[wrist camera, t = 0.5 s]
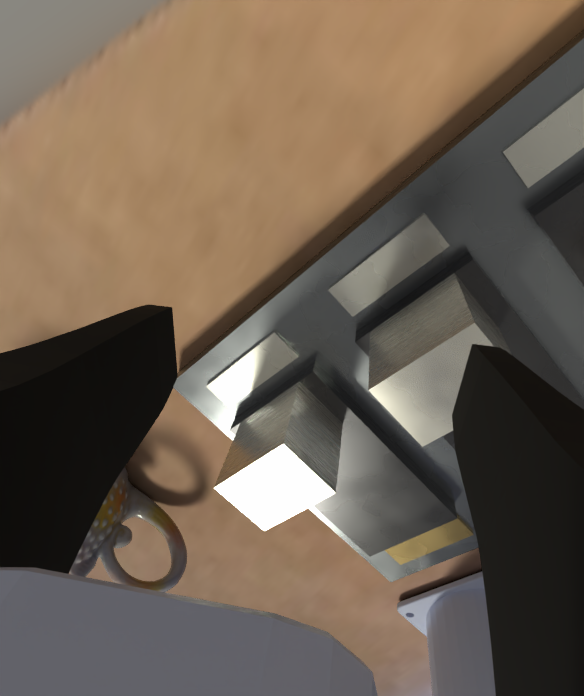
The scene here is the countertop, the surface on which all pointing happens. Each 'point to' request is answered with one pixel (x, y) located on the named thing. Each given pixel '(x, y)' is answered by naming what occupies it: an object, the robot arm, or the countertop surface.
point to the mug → (128, 536)
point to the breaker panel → (468, 225)
